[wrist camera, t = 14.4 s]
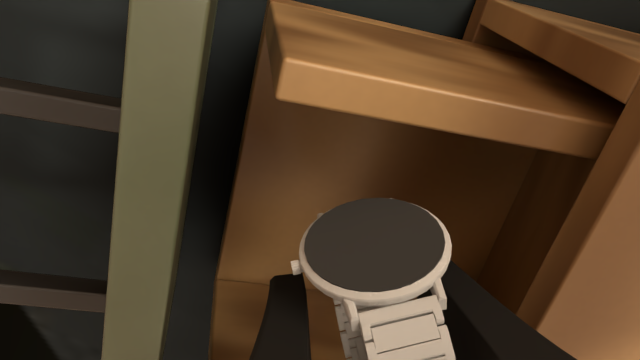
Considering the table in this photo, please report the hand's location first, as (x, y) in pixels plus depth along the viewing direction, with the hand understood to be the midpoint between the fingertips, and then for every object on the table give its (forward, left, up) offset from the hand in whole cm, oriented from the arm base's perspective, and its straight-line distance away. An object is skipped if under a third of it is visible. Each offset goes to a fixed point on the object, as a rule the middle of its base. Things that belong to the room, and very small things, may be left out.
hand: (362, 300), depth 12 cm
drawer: (0, -2, -7) cm, 7 cm away
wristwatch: (0, 0, -2) cm, 2 cm away
